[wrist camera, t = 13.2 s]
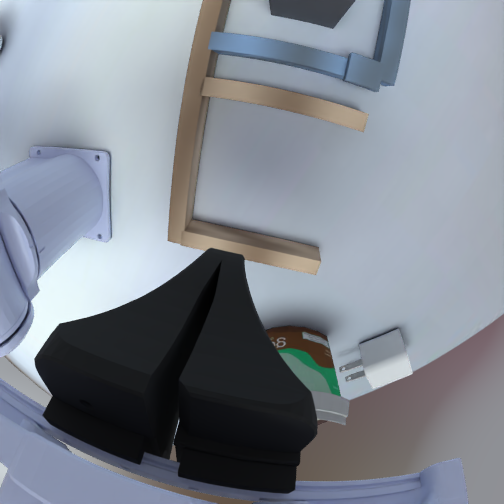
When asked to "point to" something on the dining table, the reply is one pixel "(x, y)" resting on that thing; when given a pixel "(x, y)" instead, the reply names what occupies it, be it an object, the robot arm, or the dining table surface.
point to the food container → (312, 369)
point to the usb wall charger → (381, 360)
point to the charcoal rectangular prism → (312, 10)
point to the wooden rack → (205, 86)
